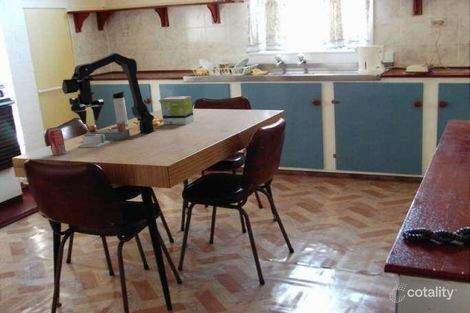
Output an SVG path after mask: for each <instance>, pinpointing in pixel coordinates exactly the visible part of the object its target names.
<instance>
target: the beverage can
mask: <svg viewBox="0 0 470 313" xmlns="http://www.w3.org/2000/svg"><path fill="white" fill-rule="evenodd" d="M47 133H48V135H47V136H48V140H49V145H50V150H51V155H54V156H61V155H64V154H65V153H66V152H67V151H66V146H65V140H64V134H63V131H62V129H61V128H58V127H57V128H51V129H49V130H48V132H47Z"/></svg>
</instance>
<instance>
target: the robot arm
mask: <svg viewBox="0 0 470 313" xmlns="http://www.w3.org/2000/svg"><path fill="white" fill-rule="evenodd" d="M112 63H115V64H116V65H118V66H120V67H121V70H122V72H123V73H124V74H125V76H126V77H127V82H128V85H129V89H130V93H131V96H132V100H133V106H131V107H130V109H131V112H132V115H133V116H134V118H136V119H137V121H138V122H139V124H138V126H139V132H138V134H150V133H153V132H155V131H156V129H154V124H153V123H154V122H153V121H154V119H155V116H154V115H152V114H151V113H150V111H149V108H148V106H147V105H146V103H145V102H144V100H143V96H142V92H141V88H140V84H139V81H138V77H137V73H138V63H137V60H136V59H134V58H130V57H127V56H125V55H121V54H120V53H118V52H112V53H110V54H108V55H106V56H103V57H101V58H99V59H96V60H94V61H91V62H86V63H83V64H82V63H81V64H77V65H76V66H75V67H74V71H73V74H72V76H71V78H67V79H66V78H64V79H62V85H61V88H62V89H61V90H62V92H63V93H64V94H65V95H67V94H68V95H69V94H73V93H77V97H69V99H68V102H69V105H71V107H70V110H71V112H73V113H75V114H77V115H78V117H79V119H80V121H81V122H82V123H83V125H86V124H87V115H88V114H87V109H86V108H89V107H90V109H91V110H92V111H93V112H92V113H93V118H94V120H95V121H98V120H99V116H100V113H101V110H102V109H103V105H105V101H104V99H102V98H100V99H99V98H98V99H97V98H96V99H94V97H93V95H95V94H94V93H95V92H94V91H92V86H91V81H95V78H93V77H92V76H91V75H92V74H93V73H94V72H95V71H97V70H99V69H101V68H103V67H106V66H108V65H110V64H112ZM78 91H79V92H78Z"/></svg>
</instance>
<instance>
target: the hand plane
mask: <svg viewBox="0 0 470 313" xmlns="http://www.w3.org/2000/svg"><path fill="white" fill-rule="evenodd" d="M88 128H89V131H88V132H86V133H85V134H105V140H106V141H124V140H125V139H128V138H130V137H131V133H130V129H129V128H126V126H125V123H117V122H116V128H117V129H112V127H109V128H108V129H98V128H97V124H91V125H89V126H88Z"/></svg>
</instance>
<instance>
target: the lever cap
mask: <svg viewBox="0 0 470 313" xmlns="http://www.w3.org/2000/svg"><path fill="white" fill-rule="evenodd" d="M81 139H82V144H83V145H86V144H102V143H105V142H106V141H107V140H105V134H86V133H85V134H83V136H82V137H81Z"/></svg>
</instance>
